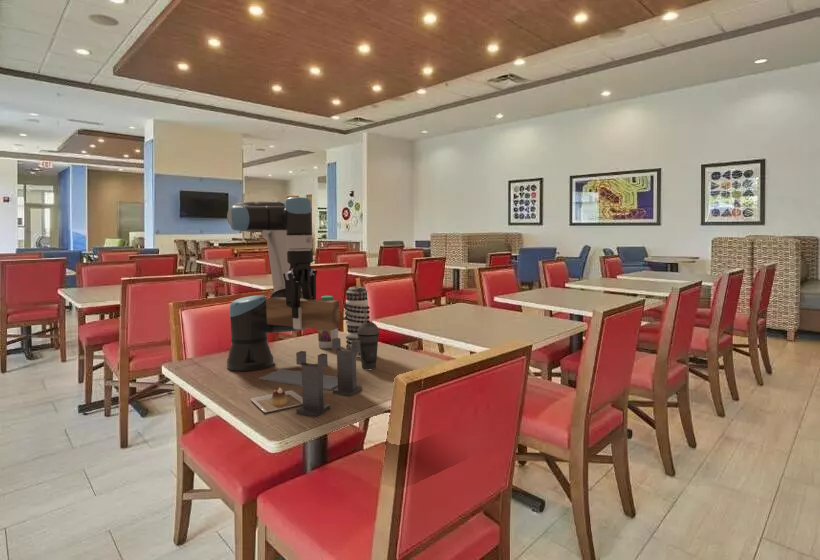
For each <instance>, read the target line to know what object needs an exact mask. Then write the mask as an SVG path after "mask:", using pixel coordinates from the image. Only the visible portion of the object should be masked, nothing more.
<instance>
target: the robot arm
mask: <svg viewBox="0 0 820 560" xmlns="http://www.w3.org/2000/svg"><path fill="white" fill-rule="evenodd" d="M312 212H313V208H312V200H311V199H310V198H309V197H302V196H301V197H288V198H286V199H285V201H280V200H279V201H243V202H239V203H235V204H233V205H232V206H231V207H229V208H228V211H227V213H226V220H227V222H228V224H229V225H230V228H231V230H232V231H237V232H239V231H240V232H248V233H261V236H262V238H263V239H265V240H266V242H267V243H266V244H267V251H268V256H269V257H268V259H269V265H270V273H271V281H272V289H273V291H272V293H271V294H270V297H269V298H272V297H284V298H286V305H287V306H289V307H291V308H292V318H293V326H281V325H270V324H267V312H266V298H267V297H266V295H264V294H260V295H251V296H245V297H240V298H237V299H235V300H233V301H232V302H231V303H230V304H229V314H228V316H229V318H230V320H229V321H230V343H231V345H230V348H229V352H228V357H227V359H226V368H227V369H228V370H231V371H234V370H235V372H249V371H250V370H252V371H257V370H258V369H259V370H263V369H266V368H270V367H271V366H272V365H274V356H273V354H272V352H271V349H270V346H269V342H268V334H272V333H273V334H275V333H287V332H296V331H303V330H306V329H307V328H304V327H302V310H301V307H299V305H300V298H301V299H317V274H318V271H317V269H312V265H311V264H313V262H314V252H313V250H311V249H313V247H314V246H313V221H312V220H313V218H312V217H313V216H312V215H313V213H312ZM295 302H296V303H295Z"/></svg>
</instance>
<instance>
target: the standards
mask: <svg viewBox="0 0 820 560" xmlns="http://www.w3.org/2000/svg"><path fill="white" fill-rule="evenodd" d="M341 344H342V343H341V338H340V337H338V338H334V339H332V348H331V349H332V351H336V366H337V367H336V368H337V370H336V371H337V372H336V373H337V376H336V377H338V387H336V388H334V389H332V390H331V392H332V394H334V395H338V396H339V395H341V396H345V397H346V396H347V397H352V396H354V395H355V393H356V394H358V393H359V392H361V391H362V390H363V388H362V387H363V386H360V385H357V358H356V353H357V352H359V351H360V340H354V341H352V350H348V349H347V348H341V346H342V345H341ZM295 354H296V355H295V357H296V358H295V359H296V365H299V366H301V372H302V386H301V390H302V392H301V393H302V396H301V397H303V405H301V407H299V408H297V409H296V410H295V411H296V415H297V414H298V415H301V416H302V415H303V416H307V417H308V416H309V417H312V418H318V417H320V415H322V414H324V413H326V412H327V411H329V410H331V405H330V404H327V403H326V404H325V402H324V401H325V398H324V397H325V395H324V389H323V375H324V368H325V367H328V363H329V362H328V353H320V354H318V355H317V363H309V362H307V351H304V350H299V351H297V352H296V353H295ZM360 390H361V391H360Z"/></svg>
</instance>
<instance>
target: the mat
mask: <svg viewBox="0 0 820 560" xmlns="http://www.w3.org/2000/svg"><path fill="white" fill-rule="evenodd" d="M261 379H263V381H267V380H268V382H273V383H274V382H275V383H280V384H287V385H288V384H289V385H293V386H300V387H302V371H296V370H290V369H283V368H281V369H278V370H276V371H273V372H270V373H268V374H266V375H264V376H263V375H262V376H261V377H259V380H261ZM337 387H338V376H332V375H325V374H323V391H324V390H325V391H332V390H334V389H335V388H337Z"/></svg>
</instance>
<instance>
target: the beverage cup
mask: <svg viewBox="0 0 820 560" xmlns="http://www.w3.org/2000/svg"><path fill="white" fill-rule="evenodd" d="M364 315H365V322H364V323H362V324H361V325H360V327H359V329H358V333H357V335H358V339H359V340H360V354H361V358H360V361H361V369H362V368H363V370H365V369H372V370H375V369H376V368H377V367H376V366H377V359H378V357H377V356H378V355H377V354H378V346H379V345H378V343H379V338H380V332H379V330H380V329H379V328H378V326H377V324H376V323H374V322H373V321H370V320H369V321H370V322H369V321H368V322H367V320H368V319H367V318H366V311H365V308H364ZM374 368H375V369H374Z"/></svg>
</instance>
